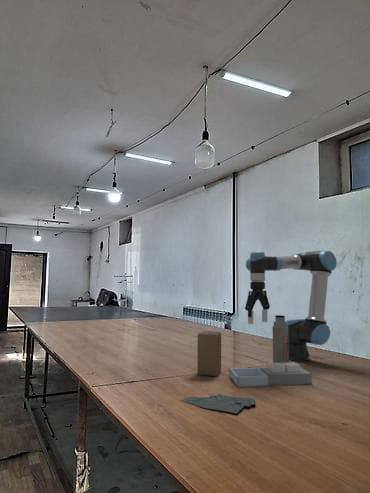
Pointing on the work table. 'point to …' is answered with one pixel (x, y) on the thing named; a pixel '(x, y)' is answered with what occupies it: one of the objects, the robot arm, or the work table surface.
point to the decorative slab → (222, 403)
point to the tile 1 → (276, 367)
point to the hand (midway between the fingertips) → (257, 322)
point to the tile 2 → (292, 367)
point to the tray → (248, 377)
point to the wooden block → (209, 353)
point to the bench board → (288, 377)
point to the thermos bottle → (280, 340)
